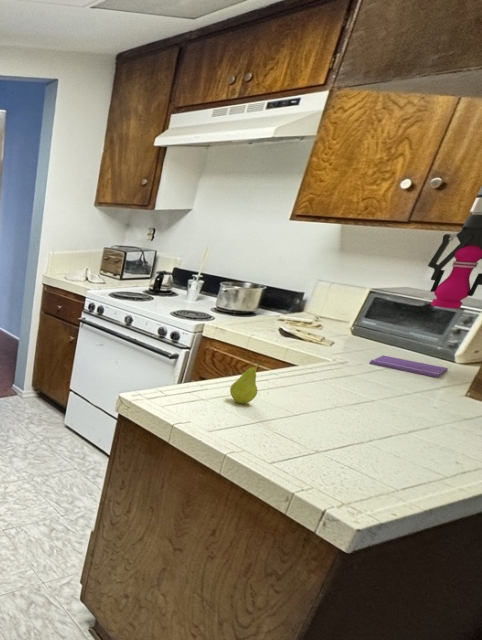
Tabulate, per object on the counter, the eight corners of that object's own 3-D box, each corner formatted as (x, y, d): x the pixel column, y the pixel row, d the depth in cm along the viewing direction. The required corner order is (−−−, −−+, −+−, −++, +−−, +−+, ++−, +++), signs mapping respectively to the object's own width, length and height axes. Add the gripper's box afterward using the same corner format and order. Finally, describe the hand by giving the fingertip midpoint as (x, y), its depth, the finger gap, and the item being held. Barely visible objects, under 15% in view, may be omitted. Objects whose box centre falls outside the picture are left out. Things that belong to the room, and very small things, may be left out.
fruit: (224, 396, 128) (237, 355, 124) (249, 400, 127) (263, 358, 122) (229, 404, 123) (243, 361, 119) (256, 408, 122) (270, 364, 117)
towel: (447, 370, 154) (448, 367, 153) (436, 377, 147) (438, 374, 146) (381, 357, 166) (383, 354, 166) (369, 363, 159) (370, 360, 159)
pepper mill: (433, 303, 150) (463, 238, 142) (466, 307, 144) (499, 240, 137) (424, 305, 147) (454, 238, 139) (457, 309, 141) (490, 240, 133)
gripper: (435, 213, 141) (402, 289, 150) (542, 215, 126) (499, 300, 134) (441, 213, 145) (408, 287, 154) (545, 215, 130) (503, 297, 138)
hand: (451, 293), depth 144 cm, fingers closed on pepper mill, 7 cm apart
